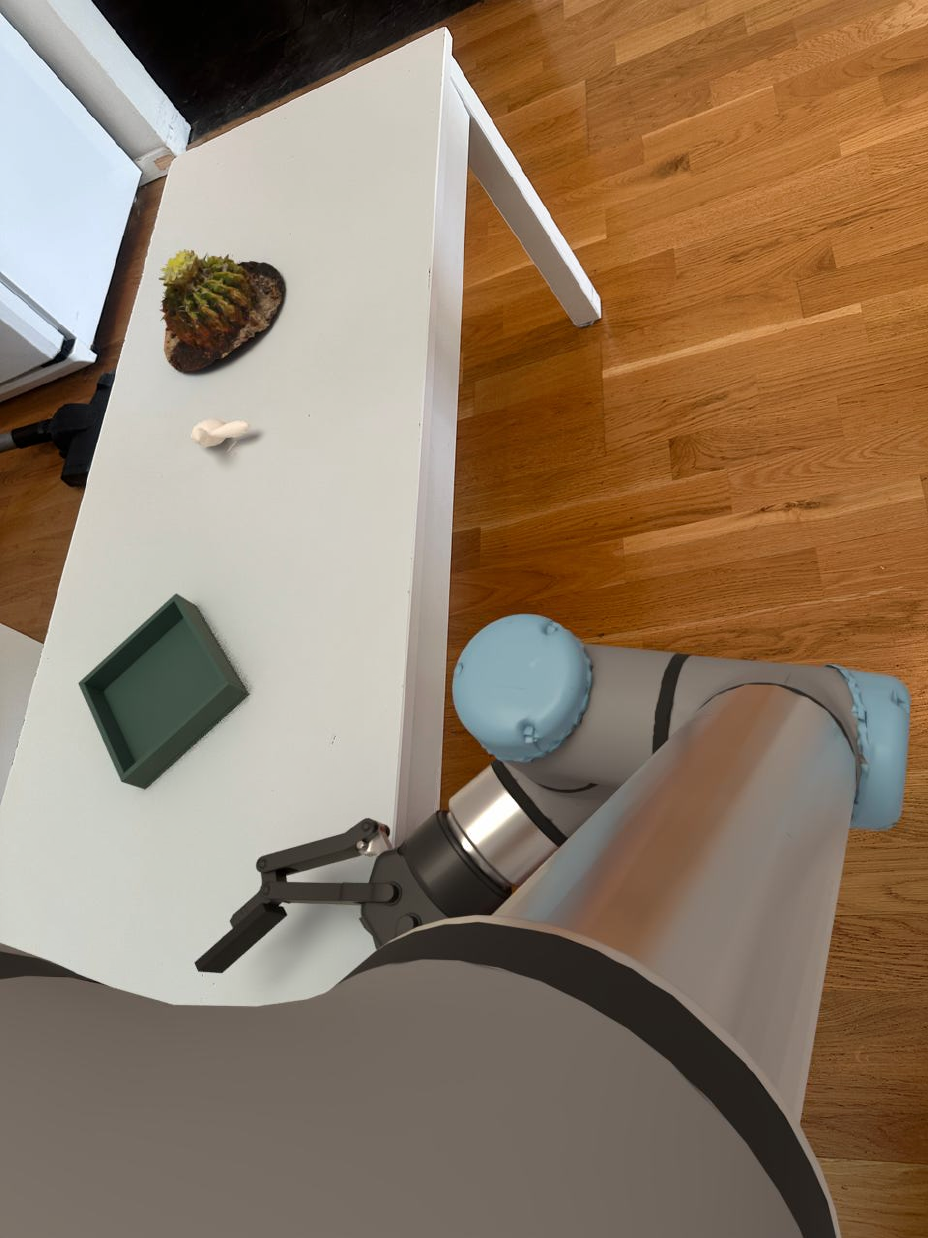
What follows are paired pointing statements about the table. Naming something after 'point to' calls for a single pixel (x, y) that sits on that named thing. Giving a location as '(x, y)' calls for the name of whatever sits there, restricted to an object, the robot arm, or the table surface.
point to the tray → (161, 691)
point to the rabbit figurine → (217, 431)
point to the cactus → (215, 306)
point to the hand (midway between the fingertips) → (245, 1055)
